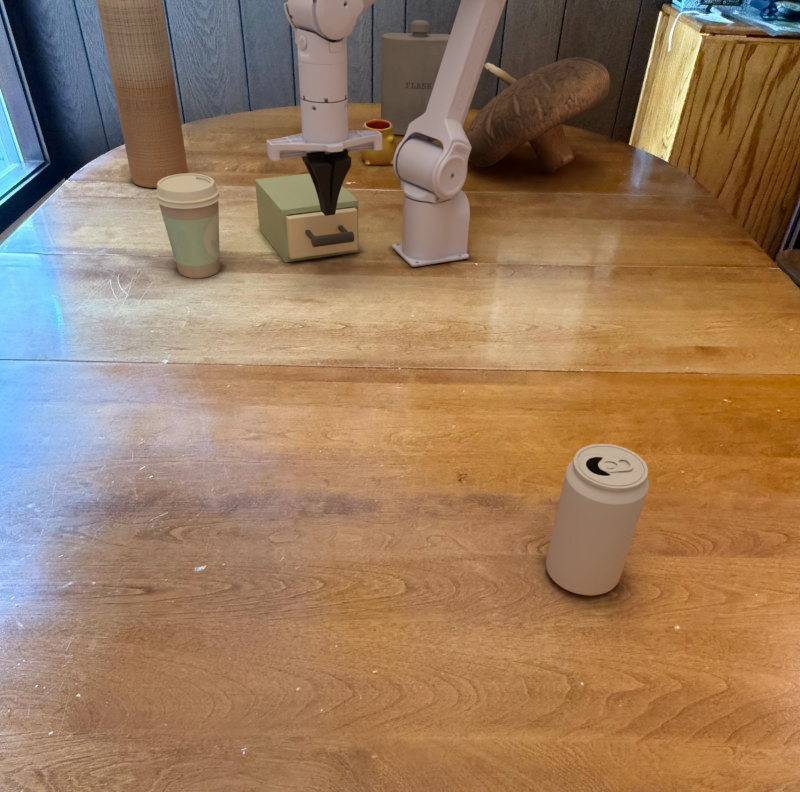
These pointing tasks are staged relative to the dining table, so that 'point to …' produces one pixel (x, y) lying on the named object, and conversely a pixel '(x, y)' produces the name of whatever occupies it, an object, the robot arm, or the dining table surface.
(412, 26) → the flask
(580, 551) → the beverage can
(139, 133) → the vase
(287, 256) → the cabinet
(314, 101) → the robot arm
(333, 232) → the drawer
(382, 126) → the mug
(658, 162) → the dining table surface
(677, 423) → the dining table surface
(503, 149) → the brown fungus
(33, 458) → the dining table surface
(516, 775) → the dining table surface
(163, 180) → the coffee cup
